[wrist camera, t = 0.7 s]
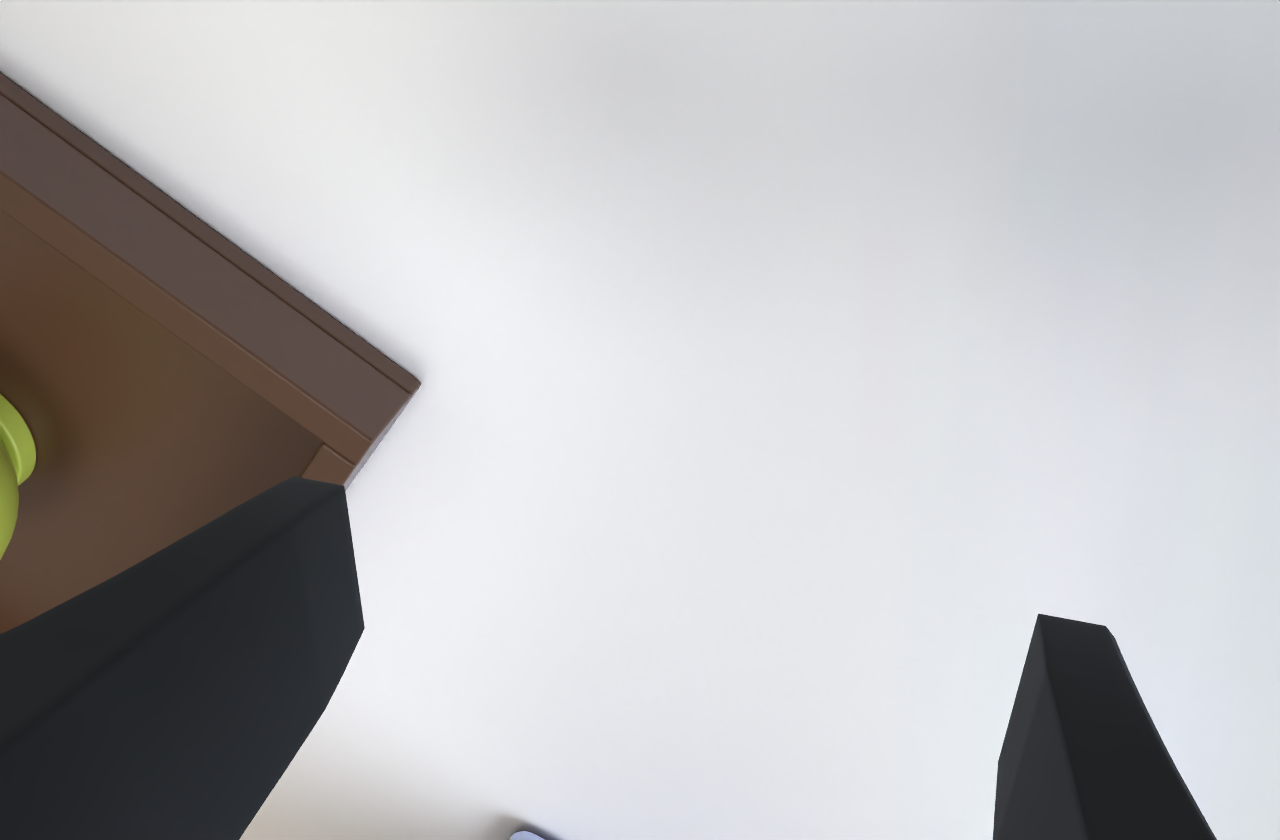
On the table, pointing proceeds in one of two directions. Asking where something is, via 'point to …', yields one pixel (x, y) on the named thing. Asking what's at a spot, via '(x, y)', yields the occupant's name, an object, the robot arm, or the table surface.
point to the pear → (12, 466)
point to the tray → (152, 367)
